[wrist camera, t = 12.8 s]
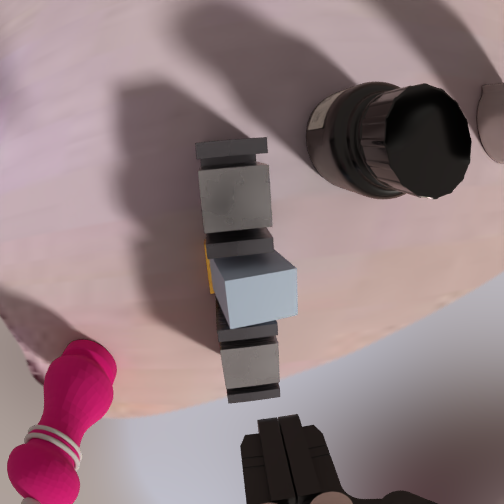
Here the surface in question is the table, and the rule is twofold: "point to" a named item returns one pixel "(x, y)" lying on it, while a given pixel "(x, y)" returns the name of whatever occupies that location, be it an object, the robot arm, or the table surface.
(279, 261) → the light grey block
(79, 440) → the pepper mill
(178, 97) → the table surface
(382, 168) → the ink bottle
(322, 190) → the table surface
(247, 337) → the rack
